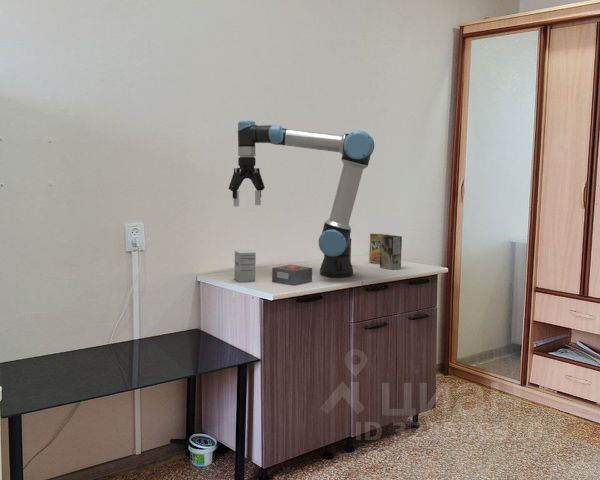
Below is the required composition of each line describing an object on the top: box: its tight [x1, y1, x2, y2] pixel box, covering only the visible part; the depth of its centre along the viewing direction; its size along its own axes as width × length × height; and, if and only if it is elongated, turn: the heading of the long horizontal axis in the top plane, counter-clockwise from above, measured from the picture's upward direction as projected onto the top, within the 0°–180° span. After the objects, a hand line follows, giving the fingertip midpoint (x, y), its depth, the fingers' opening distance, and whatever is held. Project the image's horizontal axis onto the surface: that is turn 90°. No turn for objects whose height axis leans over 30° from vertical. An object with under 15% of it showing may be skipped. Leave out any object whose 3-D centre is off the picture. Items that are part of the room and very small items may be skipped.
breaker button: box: [287, 265, 299, 269], centre depth 258 cm, size 4×4×5 cm
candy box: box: [368, 232, 390, 264], centre depth 315 cm, size 9×4×15 cm, turn 62°
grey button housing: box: [271, 264, 313, 286], centre depth 258 cm, size 12×12×6 cm
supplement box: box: [234, 249, 257, 283], centre depth 259 cm, size 7×7×13 cm
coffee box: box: [379, 234, 403, 271], centre depth 299 cm, size 9×6×16 cm
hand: (247, 205), depth 269 cm, fingers open, 13 cm apart
